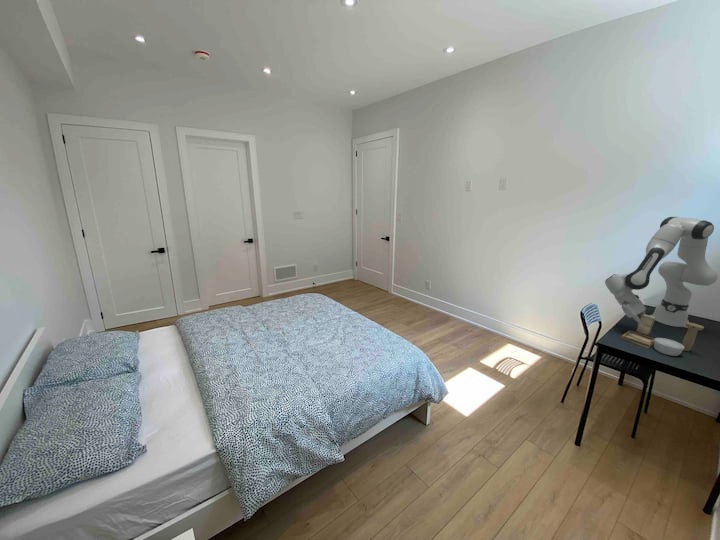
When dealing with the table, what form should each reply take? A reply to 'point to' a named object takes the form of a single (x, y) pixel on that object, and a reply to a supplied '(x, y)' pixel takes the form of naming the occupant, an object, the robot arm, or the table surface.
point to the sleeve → (645, 325)
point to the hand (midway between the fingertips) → (643, 321)
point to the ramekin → (668, 346)
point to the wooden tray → (638, 339)
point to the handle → (691, 335)
